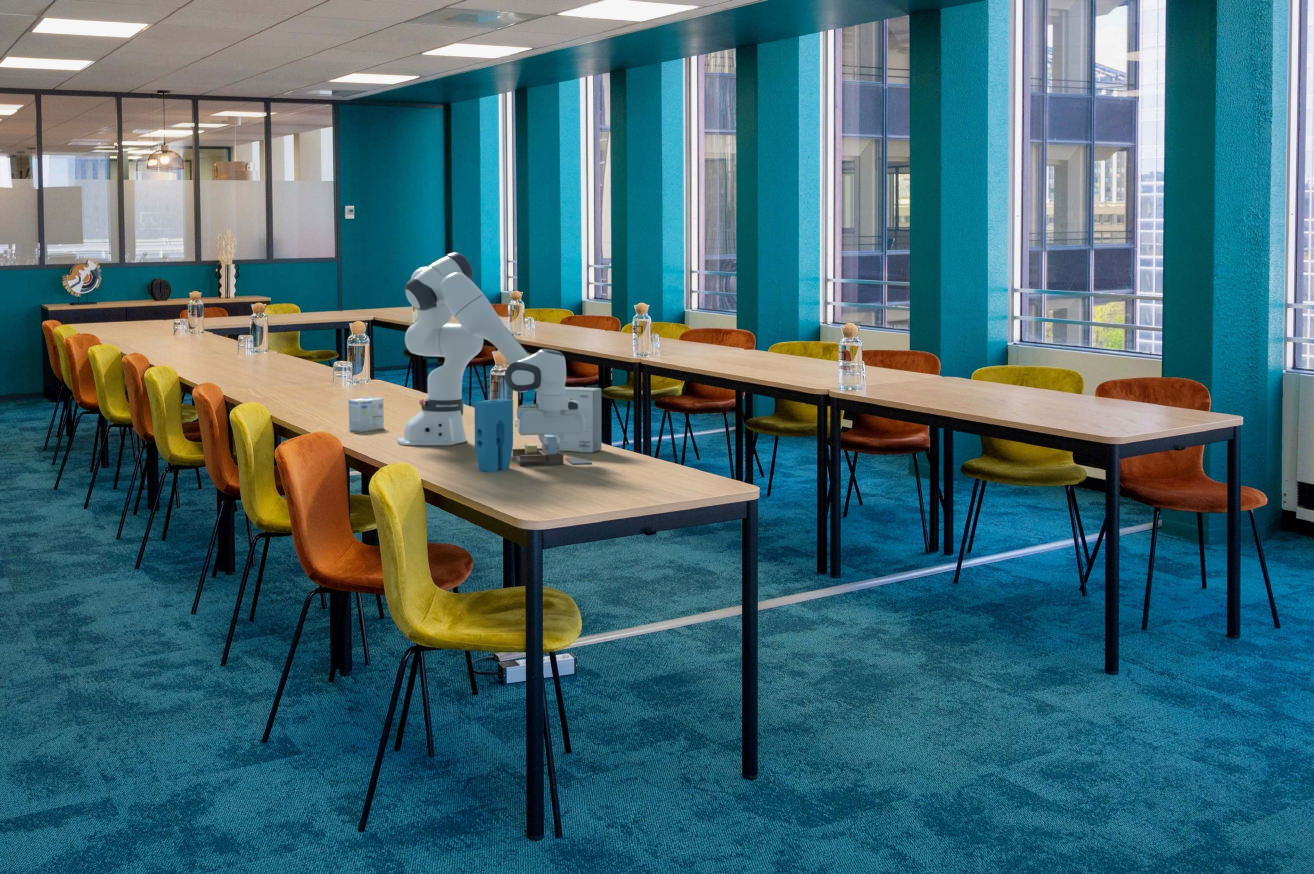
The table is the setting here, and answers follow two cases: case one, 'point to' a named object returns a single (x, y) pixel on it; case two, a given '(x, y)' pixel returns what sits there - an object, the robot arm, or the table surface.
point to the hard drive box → (592, 418)
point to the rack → (537, 458)
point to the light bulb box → (366, 414)
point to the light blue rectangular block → (550, 444)
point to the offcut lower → (530, 453)
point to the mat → (578, 461)
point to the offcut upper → (531, 447)
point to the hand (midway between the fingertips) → (551, 449)
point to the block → (493, 434)
